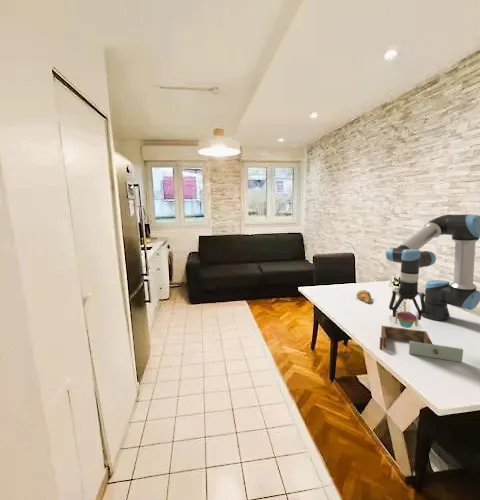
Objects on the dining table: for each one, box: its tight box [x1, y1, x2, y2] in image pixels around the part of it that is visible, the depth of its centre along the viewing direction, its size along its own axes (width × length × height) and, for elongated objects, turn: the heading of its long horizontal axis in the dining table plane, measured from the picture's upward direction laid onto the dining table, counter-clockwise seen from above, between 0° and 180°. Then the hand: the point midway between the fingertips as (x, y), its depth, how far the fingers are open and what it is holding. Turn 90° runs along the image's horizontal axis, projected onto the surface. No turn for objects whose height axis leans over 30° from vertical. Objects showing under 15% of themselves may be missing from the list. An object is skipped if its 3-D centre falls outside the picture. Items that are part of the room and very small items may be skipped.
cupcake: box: [397, 303, 416, 329], centre depth 134 cm, size 9×8×12 cm
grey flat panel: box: [408, 341, 464, 363], centre depth 124 cm, size 20×3×6 cm, turn 66°
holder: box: [379, 325, 433, 350], centre depth 136 cm, size 22×16×6 cm
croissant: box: [355, 289, 372, 304], centre depth 204 cm, size 21×10×8 cm, turn 173°
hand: (405, 324), depth 135 cm, fingers closed on cupcake, 8 cm apart
